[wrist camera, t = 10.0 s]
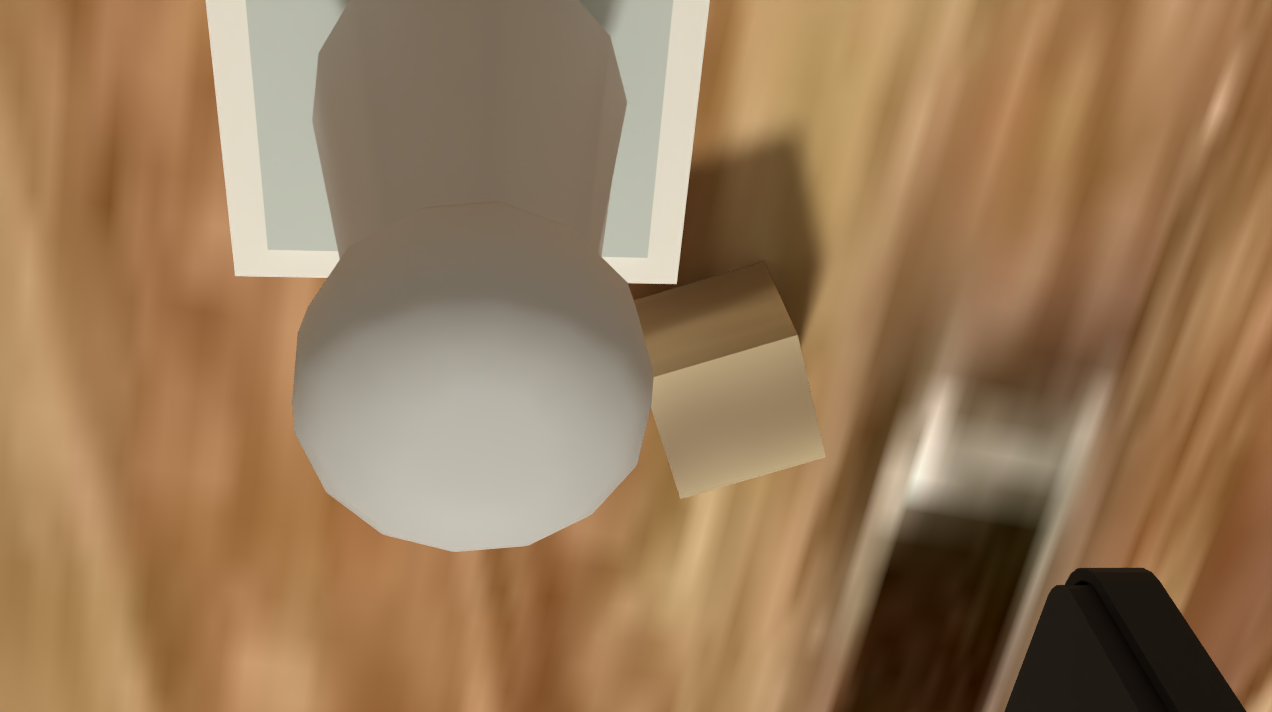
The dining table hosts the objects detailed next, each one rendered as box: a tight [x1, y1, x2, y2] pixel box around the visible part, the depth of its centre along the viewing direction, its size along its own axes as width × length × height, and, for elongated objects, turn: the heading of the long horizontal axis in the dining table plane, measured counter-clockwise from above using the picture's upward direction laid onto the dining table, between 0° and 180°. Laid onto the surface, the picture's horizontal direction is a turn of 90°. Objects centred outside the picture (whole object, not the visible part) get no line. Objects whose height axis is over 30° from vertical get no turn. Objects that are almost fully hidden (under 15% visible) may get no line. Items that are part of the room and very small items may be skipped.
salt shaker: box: [292, 0, 654, 552], centre depth 19 cm, size 6×6×13 cm
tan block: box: [634, 262, 826, 499], centre depth 32 cm, size 4×4×4 cm
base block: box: [206, 0, 710, 284], centre depth 26 cm, size 10×10×4 cm
